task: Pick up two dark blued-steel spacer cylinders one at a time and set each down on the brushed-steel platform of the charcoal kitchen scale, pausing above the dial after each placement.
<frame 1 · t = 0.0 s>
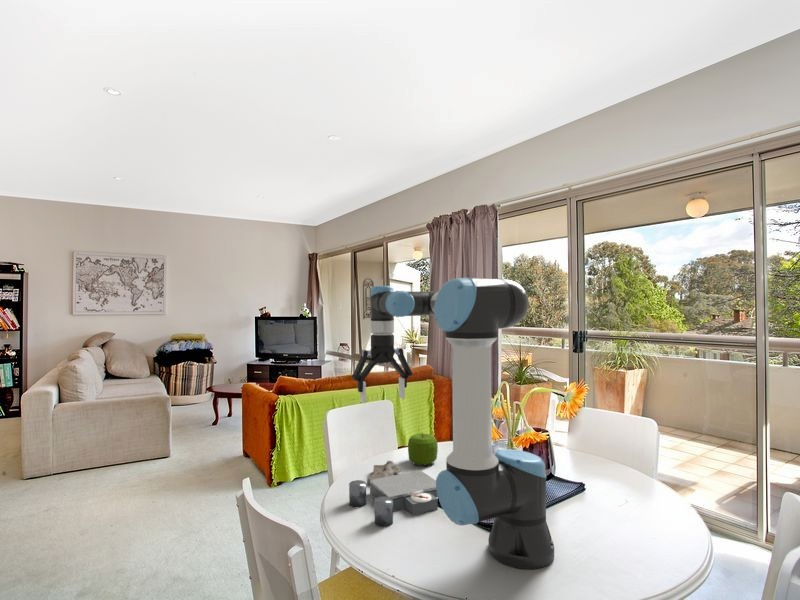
hand: (382, 400, 146), 28 cm above the table, fingers open, 13 cm apart
scale: (406, 496, 140), on the table
spacer b: (357, 503, 135), on the table
platform: (405, 484, 140), point 4 cm above the table, slide at -0.7 cm, touching scale
stone: (384, 480, 154), on the table
apple: (422, 463, 169), on the table
spacer a: (383, 522, 123), on the table
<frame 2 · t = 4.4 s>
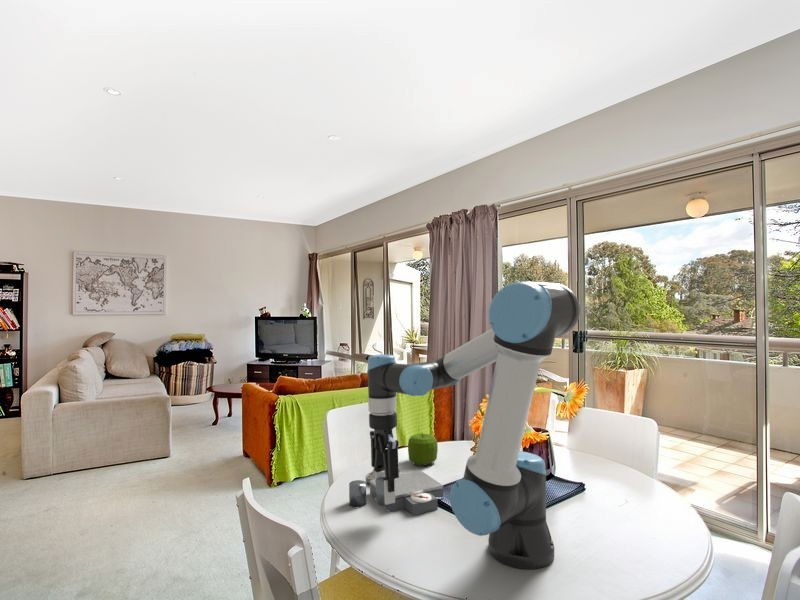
hand: (385, 499, 123), 6 cm above the table, fingers closed on spacer a, 5 cm apart
spacer a: (385, 502, 123), point 6 cm above the table, touching gripper
everything else where it was.
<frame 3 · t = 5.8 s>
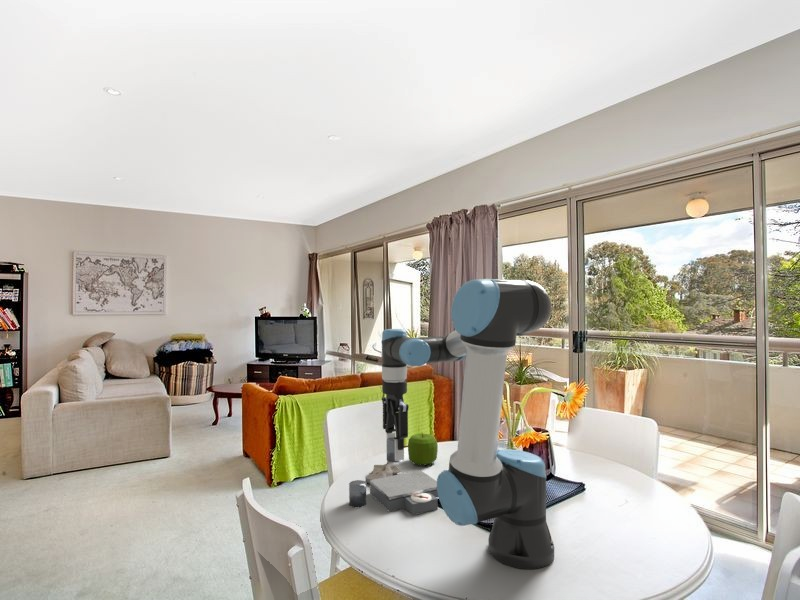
hand: (395, 456, 138), 13 cm above the table, fingers closed on spacer a, 5 cm apart
spacer a: (394, 459, 138), point 12 cm above the table, touching gripper
everything else where it was.
when the fingers open (5 cm above the table, at t = 7.4 s): spacer a stays where it is, resting on platform.
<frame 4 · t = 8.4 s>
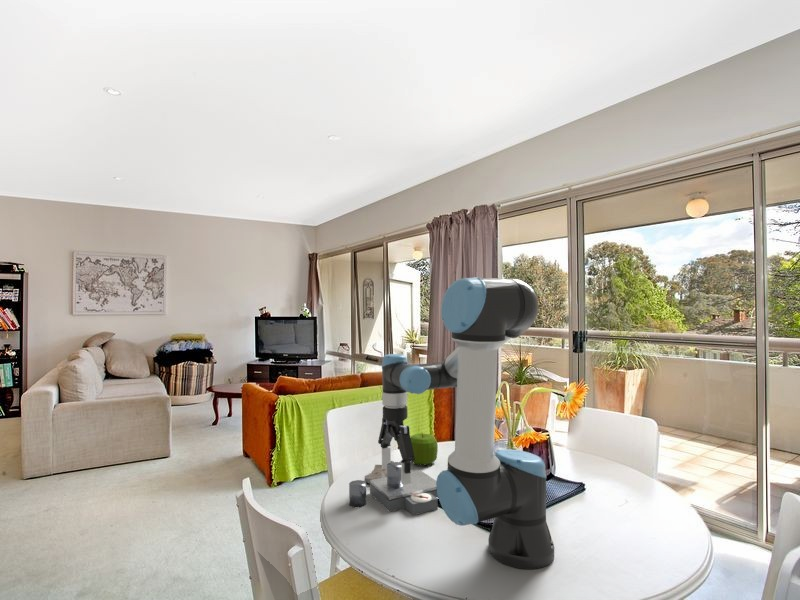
hand: (395, 475, 138), 7 cm above the table, fingers open, 13 cm apart
platform: (405, 484, 140), point 4 cm above the table, slide at -0.7 cm, touching scale, spacer a
spacer a: (395, 484, 138), point 4 cm above the table, touching platform
everything else where it was.
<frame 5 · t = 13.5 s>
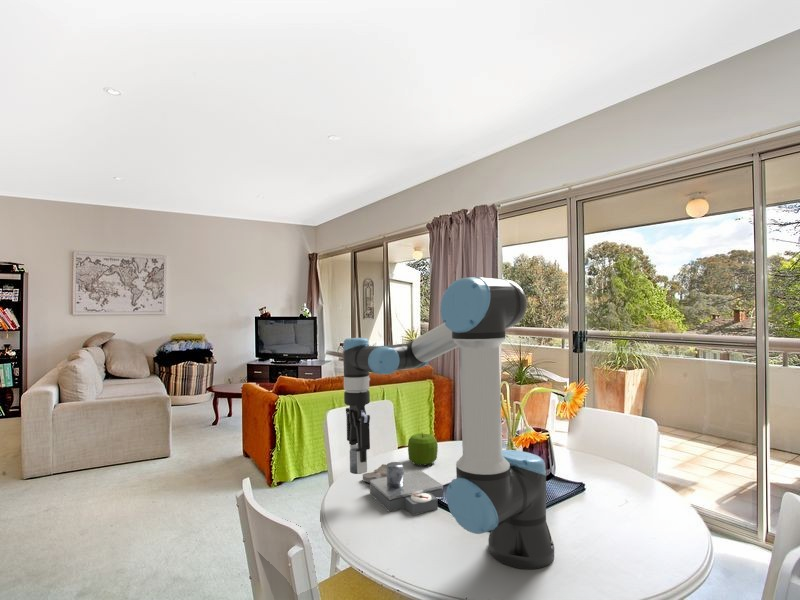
hand: (358, 469, 134), 10 cm above the table, fingers closed on spacer b, 5 cm apart
spacer b: (358, 470, 134), point 10 cm above the table, touching gripper
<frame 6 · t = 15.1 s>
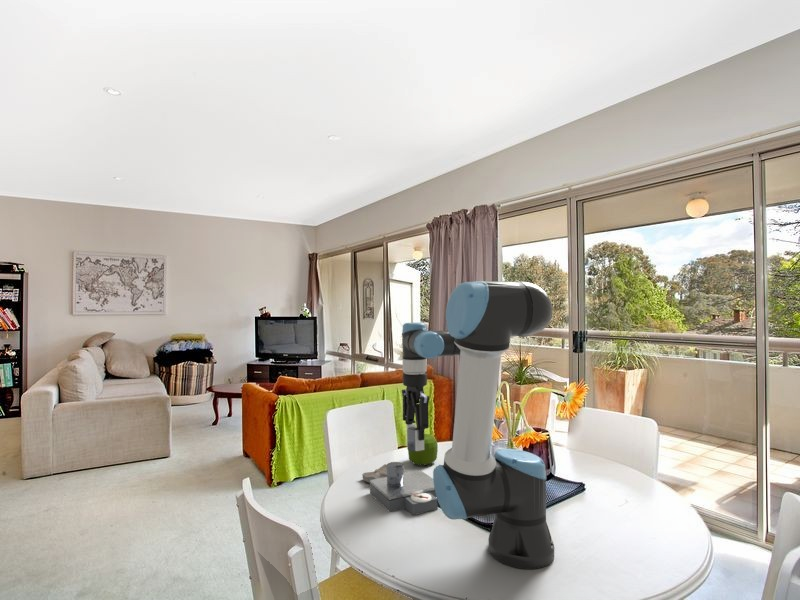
hand: (415, 447, 141), 14 cm above the table, fingers closed on spacer b, 5 cm apart
spacer b: (415, 448, 141), point 14 cm above the table, touching gripper
when the fingers open (5 cm above the table, at t = 17.0 s): spacer b stays where it is, resting on platform.
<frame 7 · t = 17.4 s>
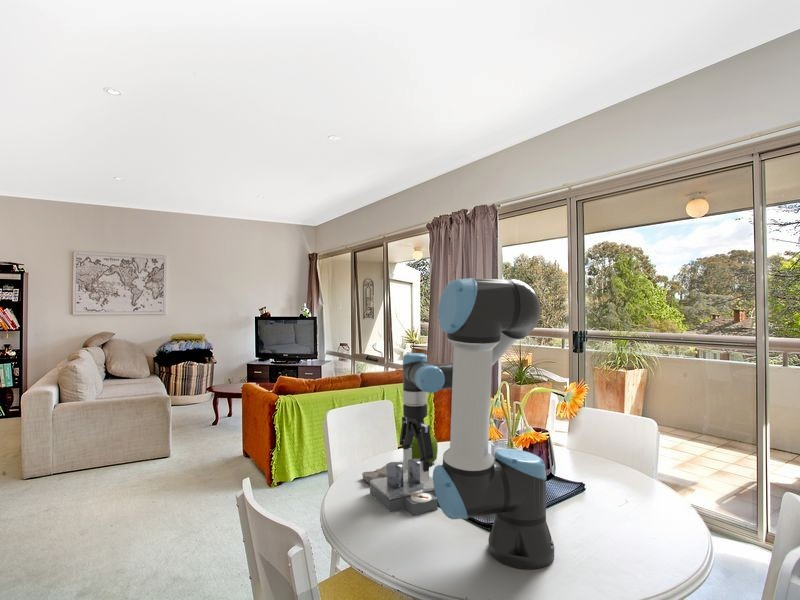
hand: (415, 475, 141), 6 cm above the table, fingers open, 10 cm apart
spacer b: (416, 480, 141), point 4 cm above the table, touching platform
platform: (405, 484, 140), point 4 cm above the table, slide at -0.7 cm, touching scale, spacer a, spacer b
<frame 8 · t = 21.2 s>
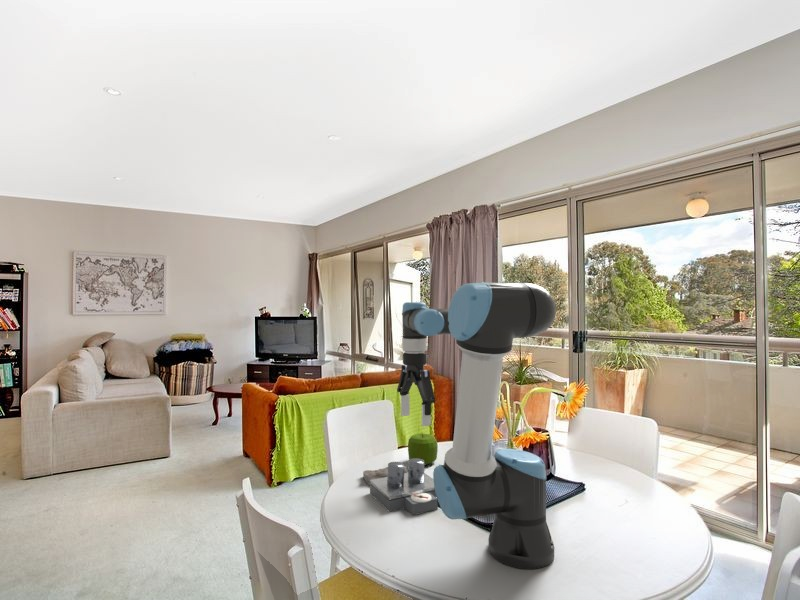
hand: (415, 420, 141), 23 cm above the table, fingers open, 13 cm apart
at the end: spacer a inside the target area on the scale (3.6 cm from its centre), point 4.2 cm above the scale's base; spacer b inside the target area on the scale (3.5 cm from its centre), point 4.2 cm above the scale's base; spacer b tilted 2° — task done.
